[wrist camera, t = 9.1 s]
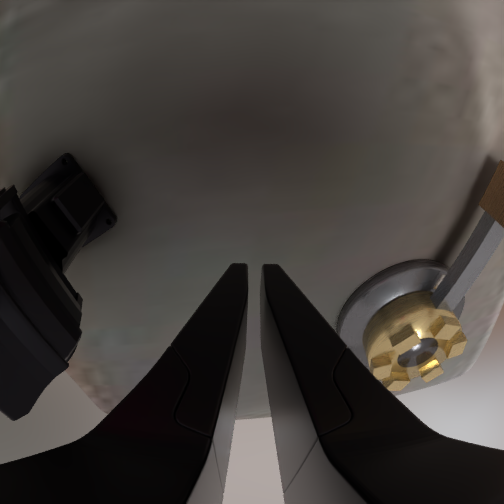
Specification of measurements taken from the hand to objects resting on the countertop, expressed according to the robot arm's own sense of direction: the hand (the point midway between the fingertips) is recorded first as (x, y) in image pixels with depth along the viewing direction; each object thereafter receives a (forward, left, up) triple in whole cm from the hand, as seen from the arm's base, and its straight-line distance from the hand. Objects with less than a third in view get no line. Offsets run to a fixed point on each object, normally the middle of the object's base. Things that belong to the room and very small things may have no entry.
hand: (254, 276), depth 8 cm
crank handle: (+10, -16, -11) cm, 22 cm away
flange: (+5, -20, -13) cm, 25 cm away
